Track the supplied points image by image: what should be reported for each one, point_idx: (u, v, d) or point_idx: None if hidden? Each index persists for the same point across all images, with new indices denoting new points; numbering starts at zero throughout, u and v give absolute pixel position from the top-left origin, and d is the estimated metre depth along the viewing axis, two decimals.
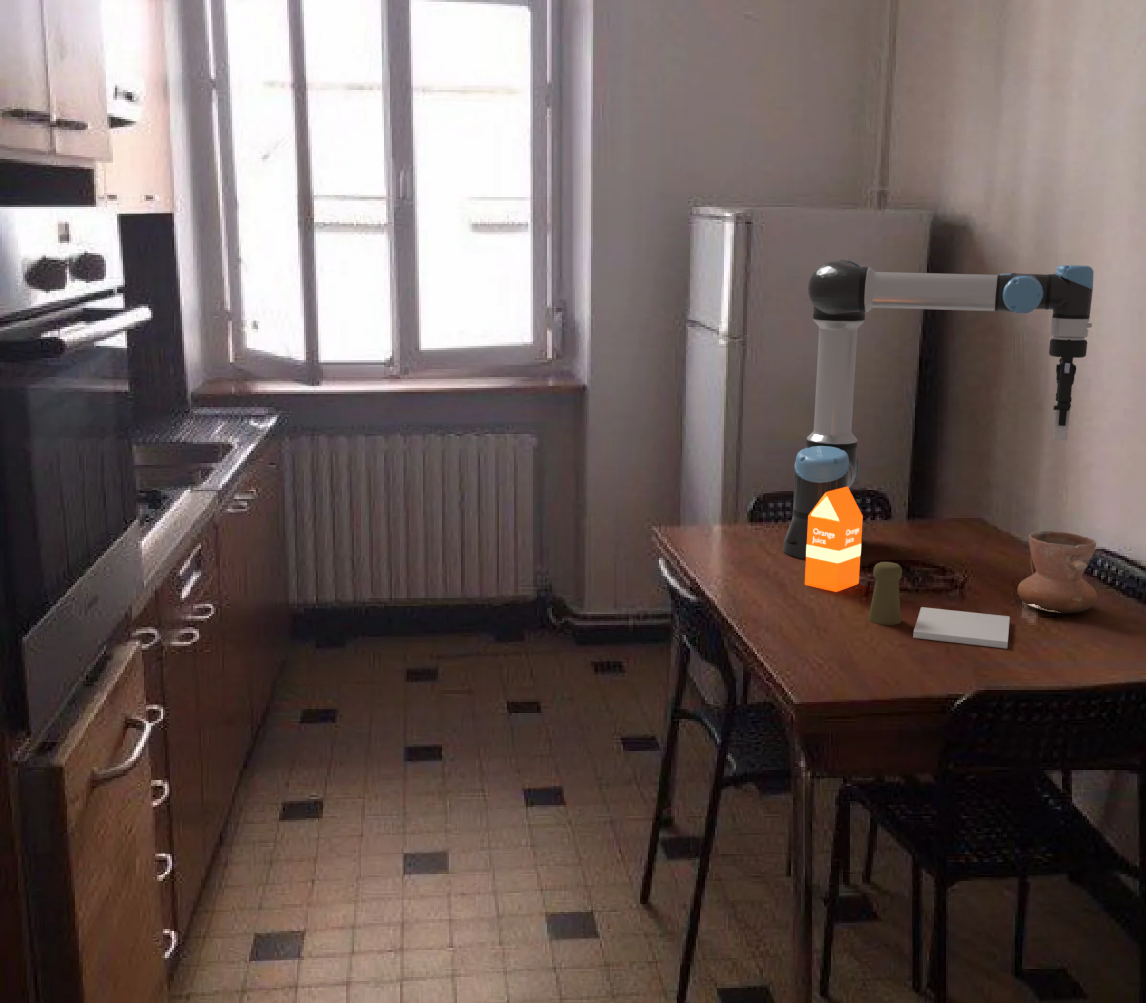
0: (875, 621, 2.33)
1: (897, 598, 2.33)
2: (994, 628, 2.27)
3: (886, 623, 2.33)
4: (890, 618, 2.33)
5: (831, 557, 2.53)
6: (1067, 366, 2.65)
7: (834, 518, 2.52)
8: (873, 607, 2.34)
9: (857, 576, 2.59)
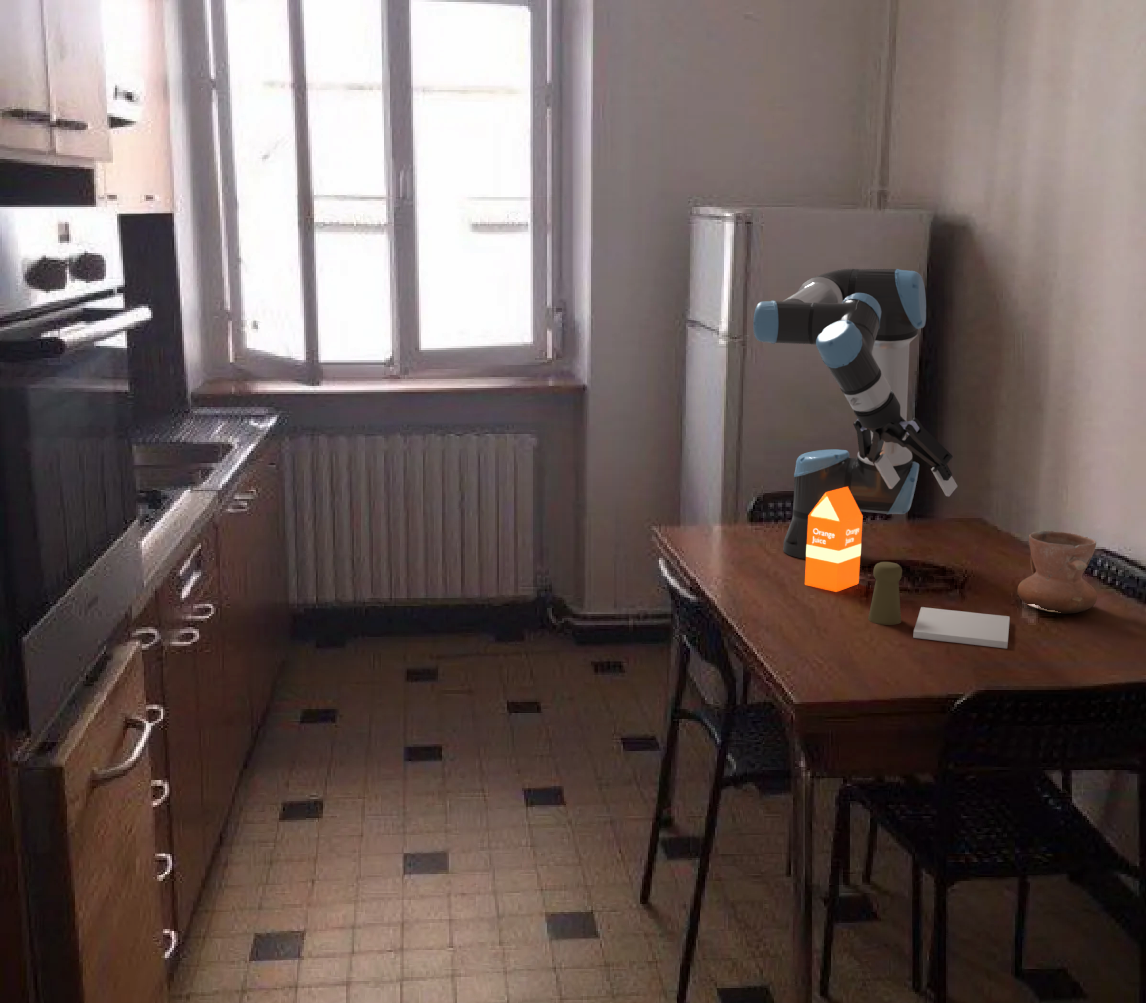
0: (875, 621, 2.33)
1: (897, 598, 2.33)
2: (994, 628, 2.27)
3: (886, 623, 2.33)
4: (890, 618, 2.33)
5: (831, 557, 2.53)
6: None
7: (834, 518, 2.52)
8: (873, 607, 2.34)
9: (857, 576, 2.59)
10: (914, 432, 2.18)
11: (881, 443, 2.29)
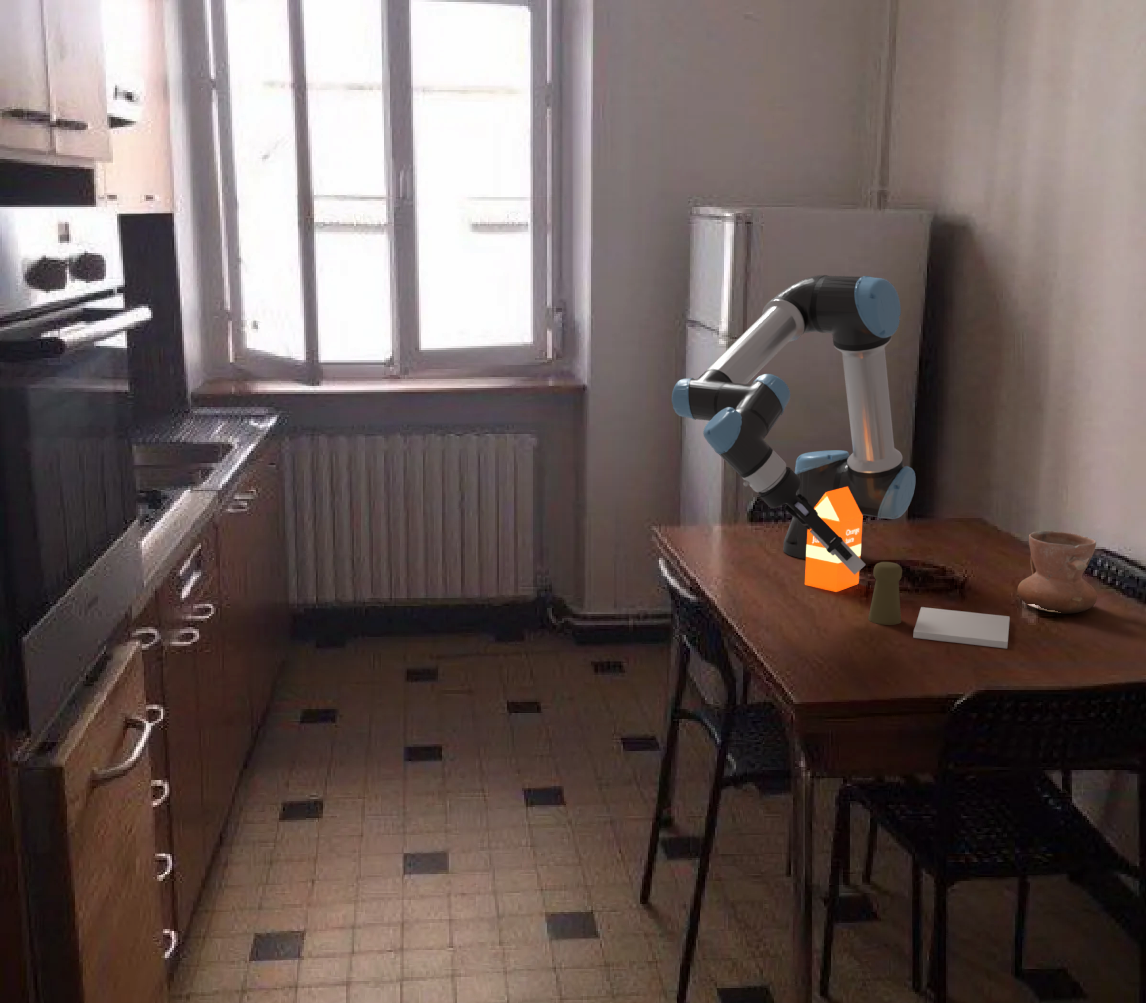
0: (875, 621, 2.33)
1: (897, 598, 2.33)
2: (994, 628, 2.27)
3: (886, 623, 2.33)
4: (890, 618, 2.33)
5: (831, 557, 2.53)
6: None
7: (834, 518, 2.52)
8: (873, 607, 2.34)
9: (857, 576, 2.59)
10: (801, 515, 2.22)
11: None
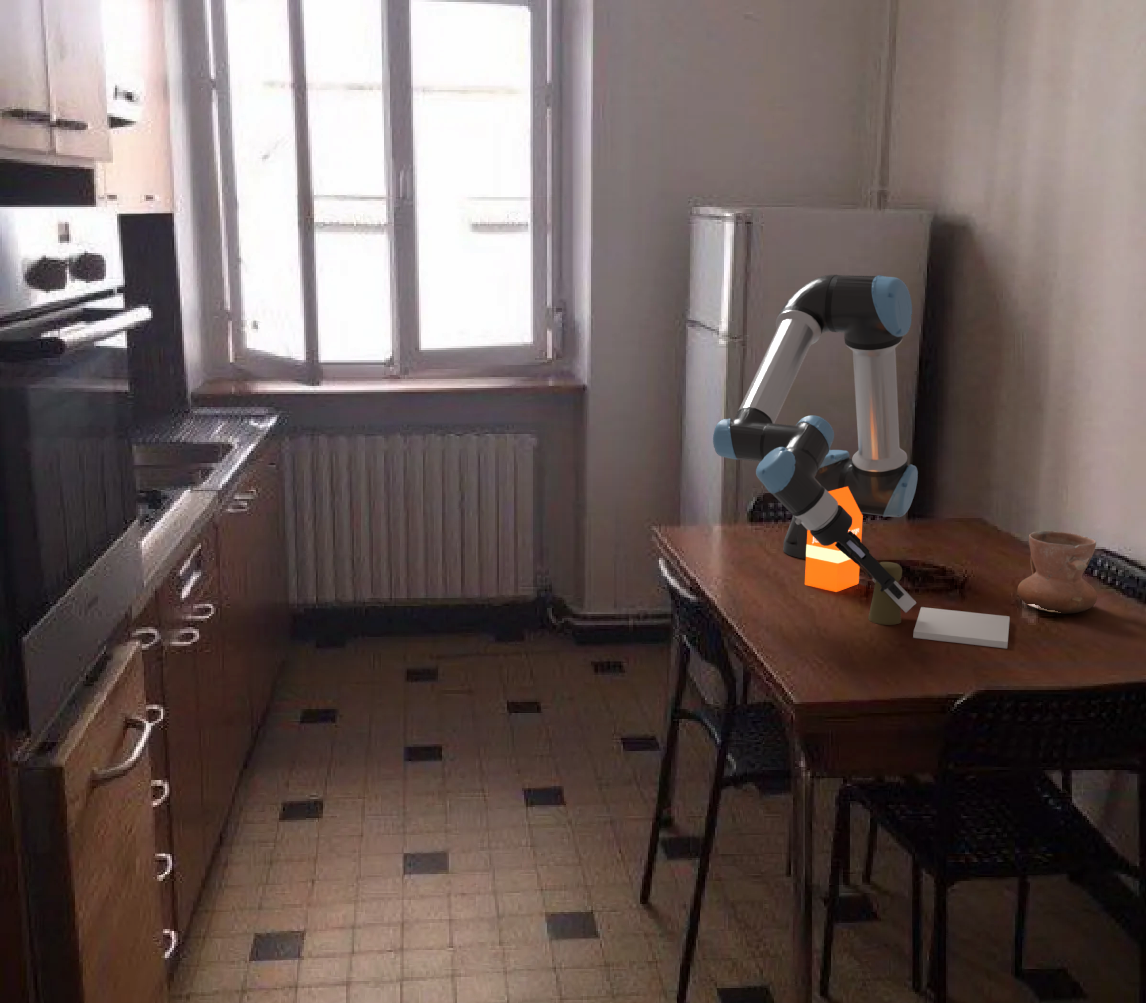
0: (875, 621, 2.34)
1: None
2: (994, 628, 2.27)
3: (886, 623, 2.33)
4: (890, 618, 2.33)
5: (831, 557, 2.53)
6: None
7: None
8: (873, 607, 2.34)
9: (857, 576, 2.59)
10: (859, 559, 2.26)
11: None
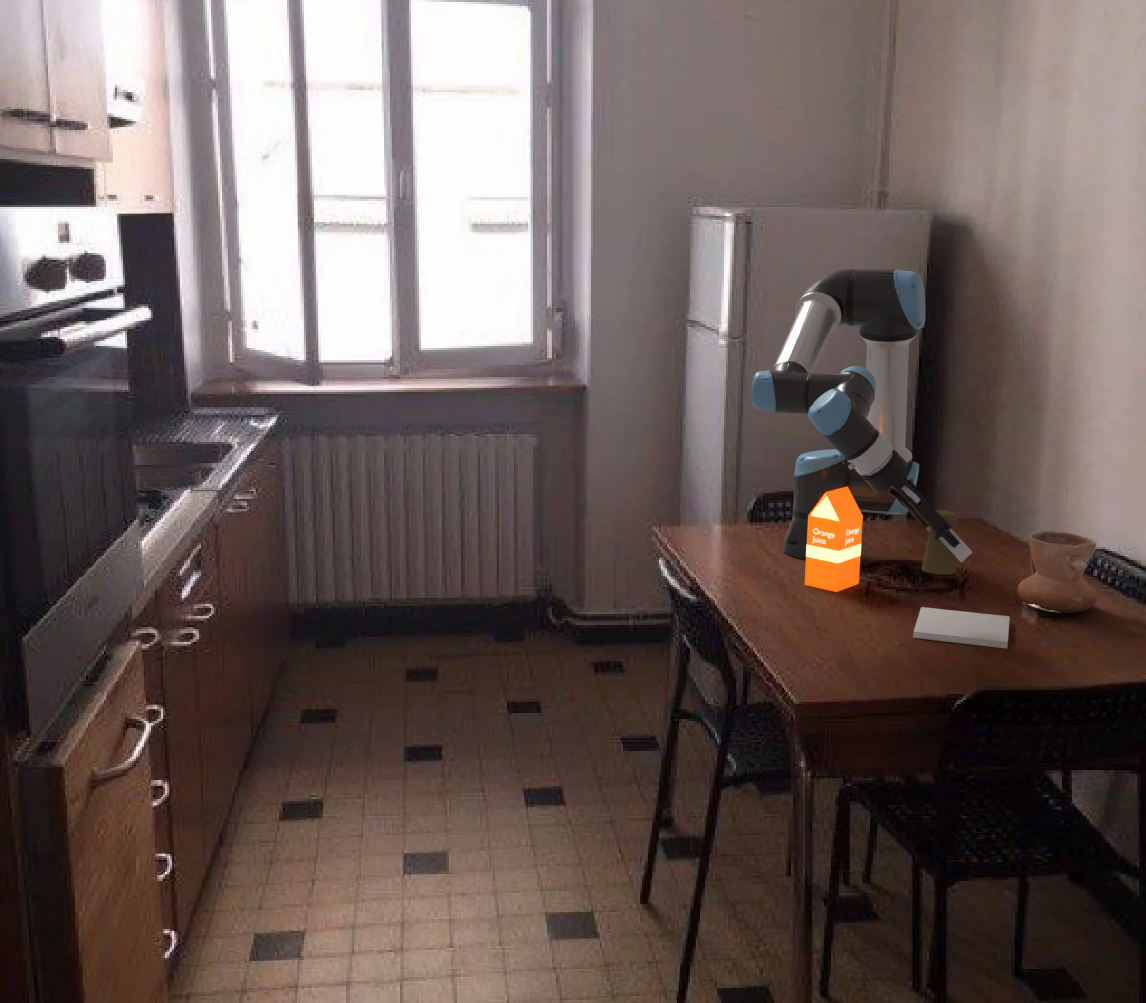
0: (929, 571, 2.26)
1: None
2: (994, 628, 2.27)
3: (940, 573, 2.26)
4: (945, 568, 2.25)
5: (831, 557, 2.53)
6: None
7: (834, 518, 2.52)
8: (927, 556, 2.27)
9: (857, 576, 2.59)
10: (914, 504, 2.19)
11: None
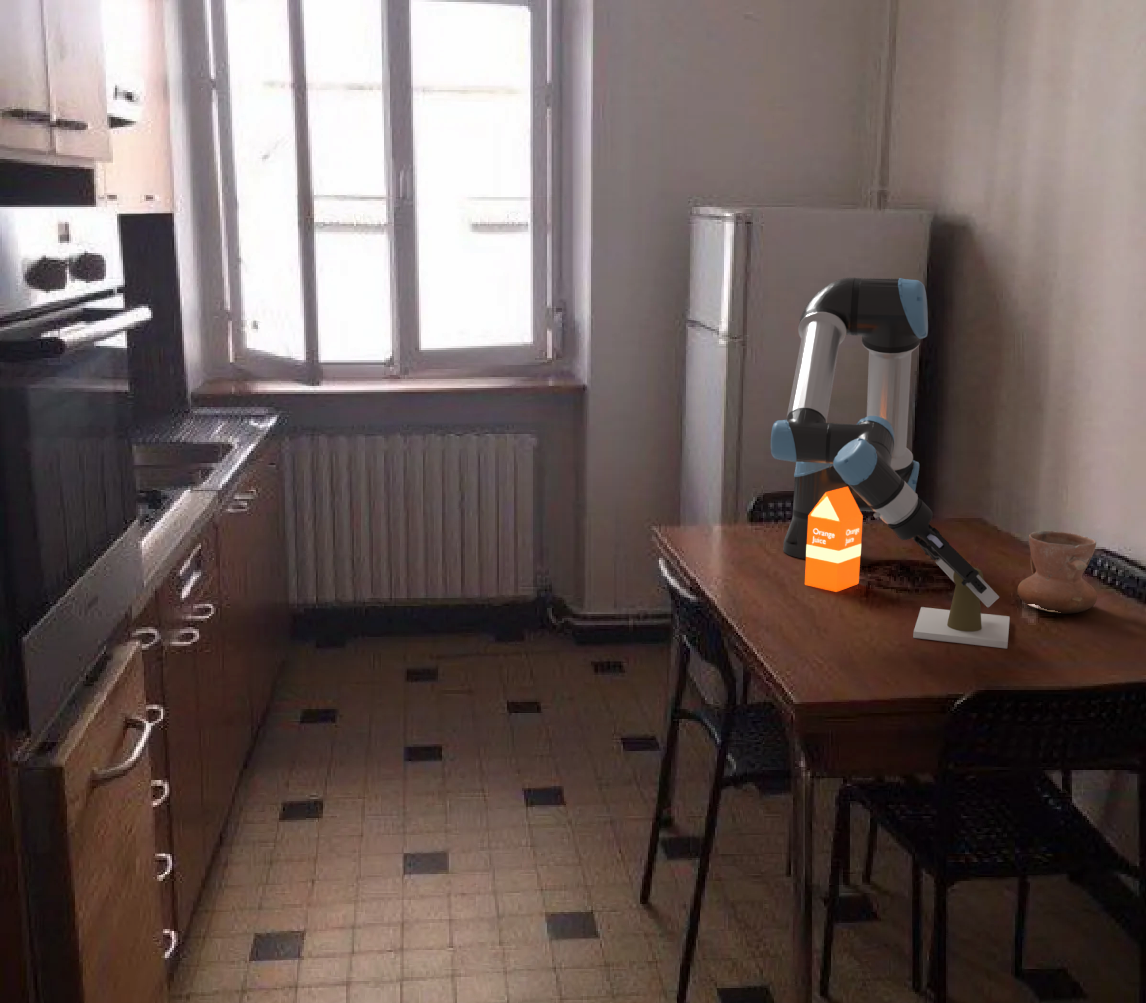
0: (955, 628, 2.26)
1: (978, 604, 2.26)
2: (994, 628, 2.27)
3: (967, 630, 2.25)
4: (971, 624, 2.25)
5: (831, 557, 2.53)
6: None
7: (834, 518, 2.52)
8: (953, 613, 2.27)
9: (857, 576, 2.59)
10: (936, 548, 2.19)
11: None
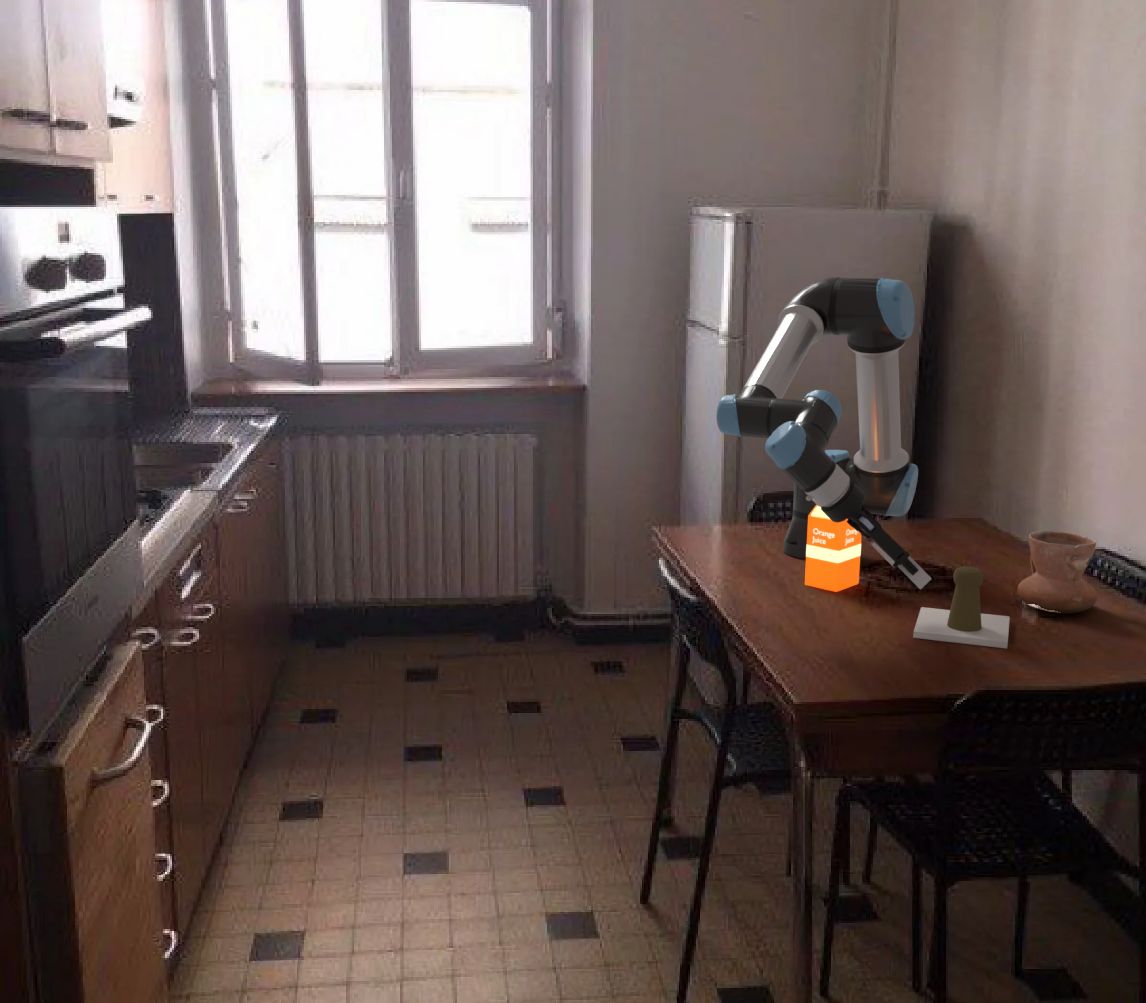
0: (955, 628, 2.26)
1: (978, 604, 2.26)
2: (994, 628, 2.27)
3: (967, 630, 2.25)
4: (971, 625, 2.25)
5: (831, 557, 2.53)
6: None
7: None
8: (953, 613, 2.27)
9: (857, 576, 2.59)
10: (867, 530, 2.18)
11: None
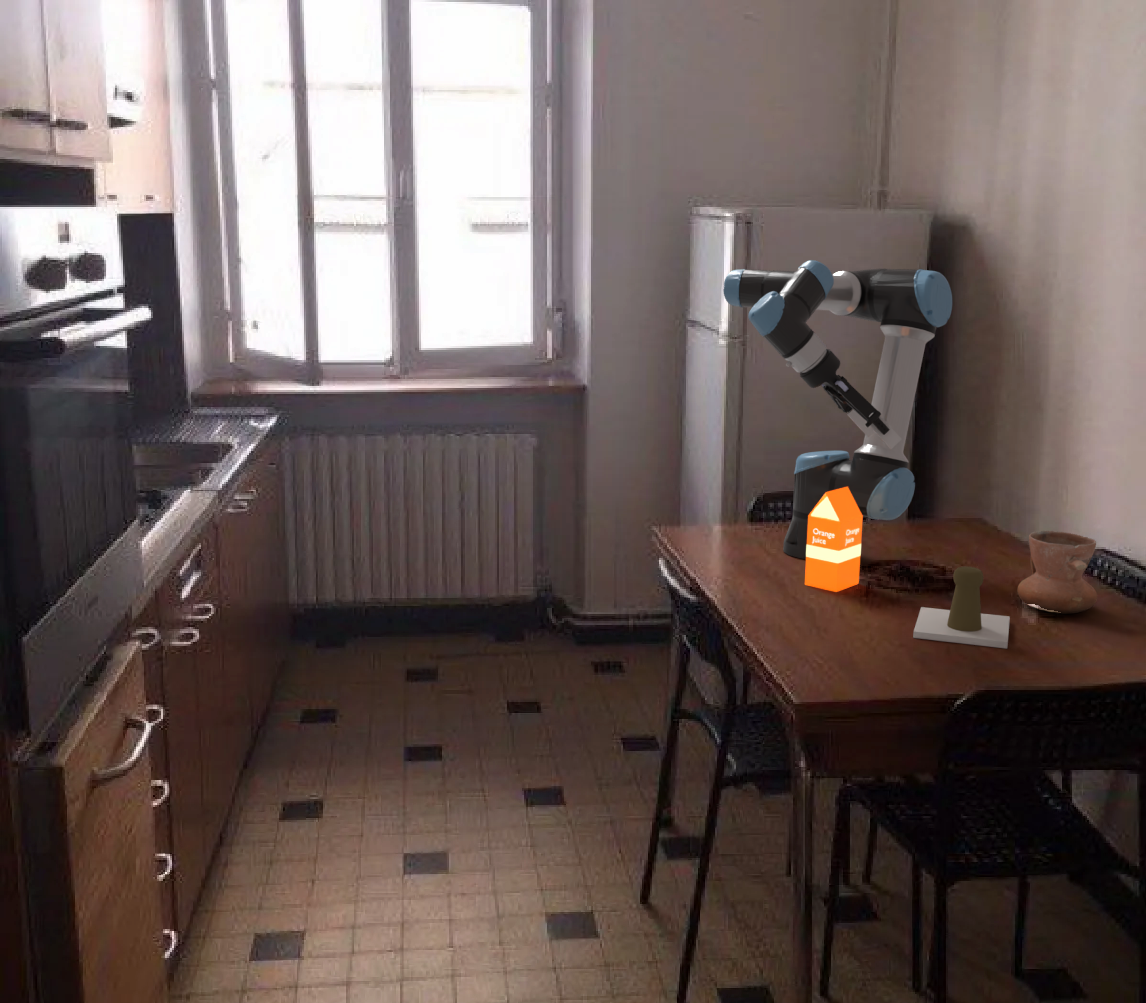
0: (955, 628, 2.26)
1: (978, 604, 2.26)
2: (994, 628, 2.27)
3: (967, 630, 2.25)
4: (971, 625, 2.25)
5: (831, 557, 2.53)
6: None
7: (834, 518, 2.52)
8: (953, 613, 2.27)
9: (857, 576, 2.59)
10: (841, 391, 2.36)
11: None
